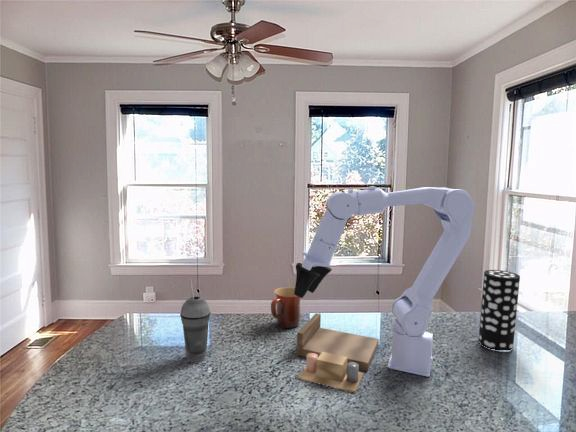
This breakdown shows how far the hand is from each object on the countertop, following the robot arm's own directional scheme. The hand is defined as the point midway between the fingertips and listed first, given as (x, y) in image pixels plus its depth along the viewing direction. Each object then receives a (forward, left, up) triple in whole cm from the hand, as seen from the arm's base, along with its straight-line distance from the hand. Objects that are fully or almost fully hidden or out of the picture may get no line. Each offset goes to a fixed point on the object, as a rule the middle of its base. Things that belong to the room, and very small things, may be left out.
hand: (303, 293), depth 91 cm
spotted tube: (-44, -31, -18) cm, 57 cm away
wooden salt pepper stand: (-8, +3, -18) cm, 20 cm away
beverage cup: (+25, +9, -18) cm, 32 cm away
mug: (+13, -18, -18) cm, 28 cm away
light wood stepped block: (-6, -10, -18) cm, 21 cm away
